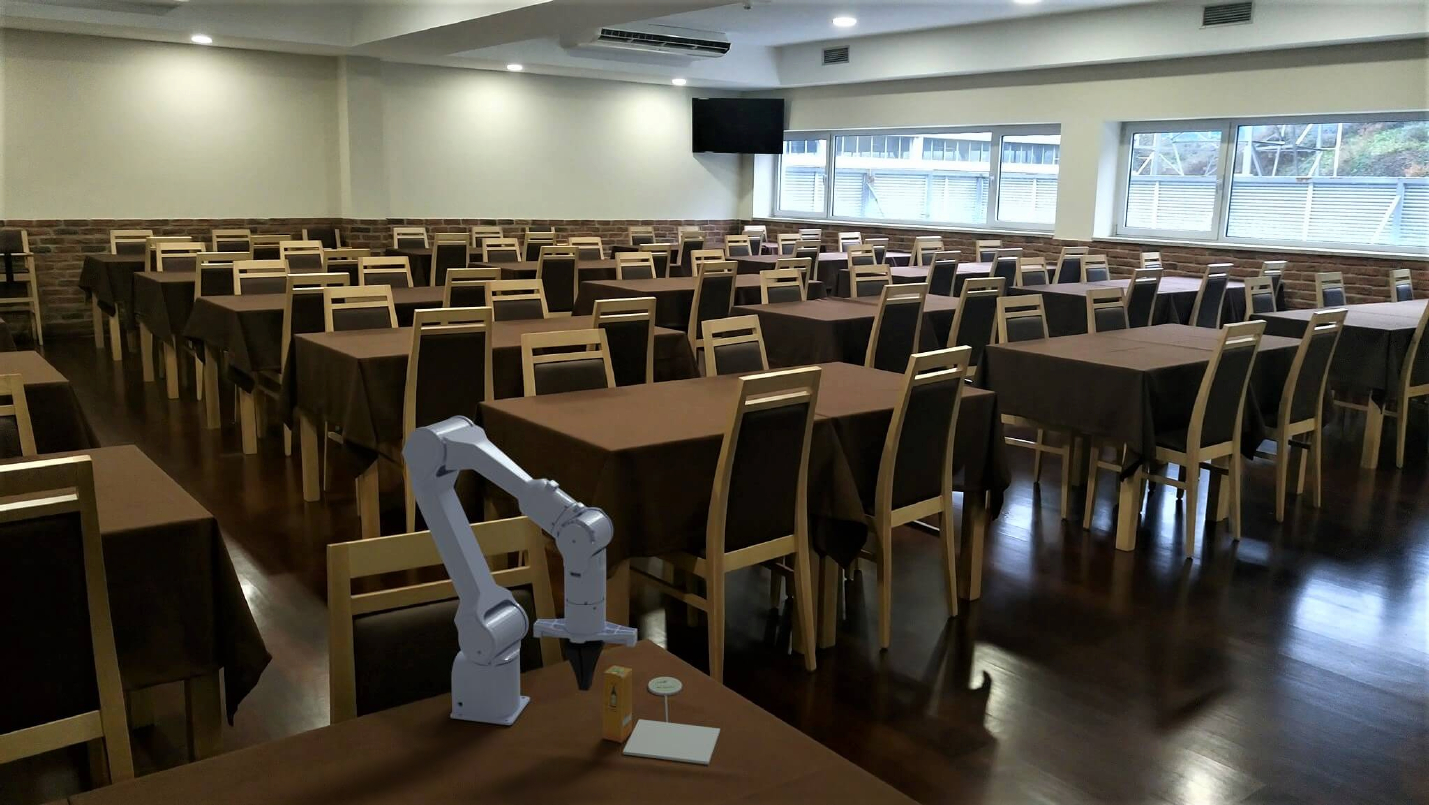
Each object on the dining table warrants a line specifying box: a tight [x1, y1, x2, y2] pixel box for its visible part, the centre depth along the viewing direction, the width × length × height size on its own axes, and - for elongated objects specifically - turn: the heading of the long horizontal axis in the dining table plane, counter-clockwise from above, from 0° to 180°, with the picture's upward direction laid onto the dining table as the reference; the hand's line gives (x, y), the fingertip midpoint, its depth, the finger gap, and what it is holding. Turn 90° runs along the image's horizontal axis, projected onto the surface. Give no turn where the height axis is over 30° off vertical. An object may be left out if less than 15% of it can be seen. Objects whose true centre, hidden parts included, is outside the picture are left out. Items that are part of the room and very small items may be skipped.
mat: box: [622, 719, 721, 765], centre depth 147 cm, size 12×9×1 cm
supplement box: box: [602, 665, 633, 744], centre depth 147 cm, size 3×3×10 cm
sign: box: [648, 676, 683, 723], centre depth 158 cm, size 5×1×15 cm
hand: (585, 687), depth 147 cm, fingers closed
